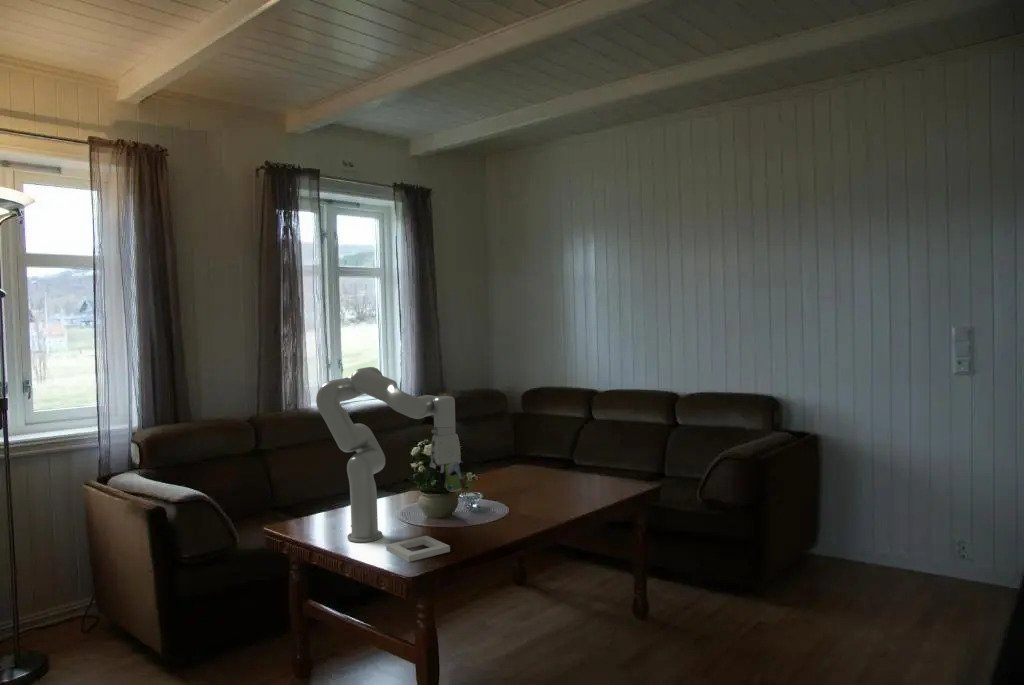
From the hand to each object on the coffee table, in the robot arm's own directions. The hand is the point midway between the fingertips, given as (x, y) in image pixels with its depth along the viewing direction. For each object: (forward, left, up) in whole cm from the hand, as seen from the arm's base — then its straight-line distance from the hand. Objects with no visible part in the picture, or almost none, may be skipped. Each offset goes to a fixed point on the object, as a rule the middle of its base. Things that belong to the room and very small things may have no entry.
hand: (445, 482), depth 260 cm
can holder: (+1, -13, -22) cm, 25 cm away
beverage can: (+1, +3, -4) cm, 5 cm away
